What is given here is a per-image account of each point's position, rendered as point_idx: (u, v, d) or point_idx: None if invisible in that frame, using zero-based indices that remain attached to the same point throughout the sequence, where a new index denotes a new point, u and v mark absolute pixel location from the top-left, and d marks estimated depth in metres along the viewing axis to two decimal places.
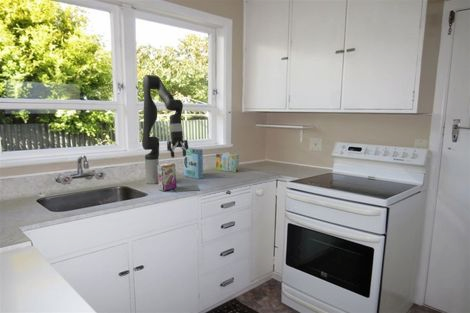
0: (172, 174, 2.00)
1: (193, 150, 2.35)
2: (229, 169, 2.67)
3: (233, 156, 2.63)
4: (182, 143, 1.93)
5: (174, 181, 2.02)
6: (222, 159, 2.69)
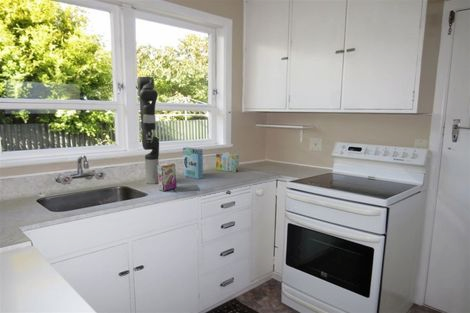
0: (172, 174, 2.00)
1: (193, 150, 2.35)
2: (229, 169, 2.67)
3: (233, 156, 2.63)
4: None
5: (174, 181, 2.02)
6: (222, 159, 2.69)
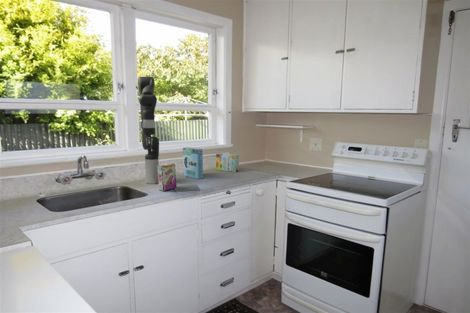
0: (172, 174, 2.00)
1: (193, 150, 2.35)
2: (229, 169, 2.67)
3: (233, 156, 2.63)
4: None
5: (174, 181, 2.02)
6: (222, 159, 2.69)
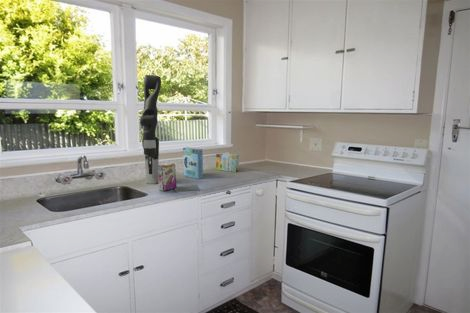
0: (172, 174, 2.00)
1: (193, 150, 2.35)
2: (229, 169, 2.67)
3: (233, 156, 2.63)
4: None
5: (174, 181, 2.02)
6: (222, 159, 2.69)
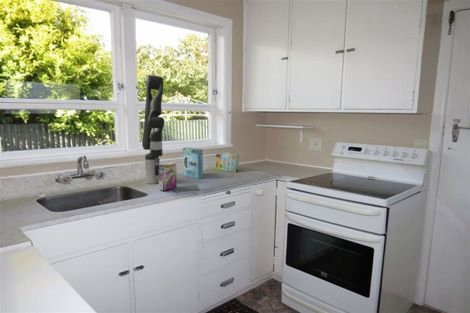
0: (173, 174, 2.00)
1: (193, 150, 2.35)
2: (229, 169, 2.67)
3: (233, 156, 2.63)
4: None
5: (174, 181, 2.02)
6: (222, 159, 2.69)
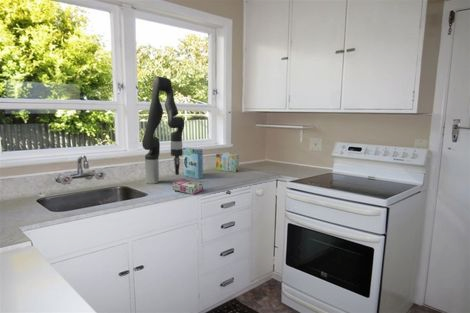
0: None
1: (193, 150, 2.35)
2: (229, 169, 2.67)
3: (233, 156, 2.63)
4: None
5: None
6: (222, 159, 2.69)
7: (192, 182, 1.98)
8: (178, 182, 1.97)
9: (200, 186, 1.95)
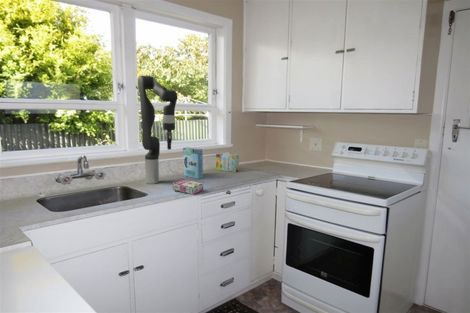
0: None
1: (193, 150, 2.35)
2: (229, 169, 2.67)
3: (233, 156, 2.63)
4: None
5: None
6: (222, 159, 2.69)
7: (192, 182, 1.98)
8: (178, 182, 1.97)
9: (200, 186, 1.95)
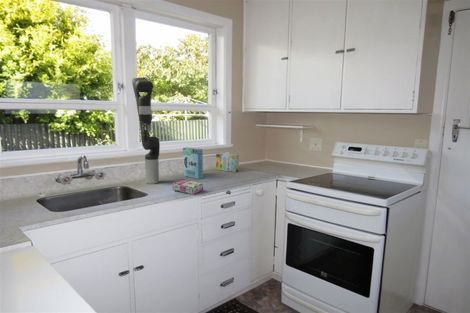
0: None
1: (193, 150, 2.35)
2: (229, 169, 2.67)
3: (233, 156, 2.63)
4: (148, 127, 1.93)
5: None
6: (222, 159, 2.69)
7: (192, 182, 1.98)
8: (178, 182, 1.97)
9: (200, 186, 1.95)
